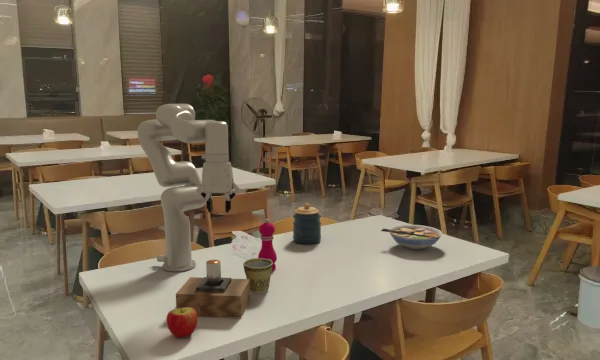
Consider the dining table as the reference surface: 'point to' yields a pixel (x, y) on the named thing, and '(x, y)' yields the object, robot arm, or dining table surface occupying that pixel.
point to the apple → (182, 321)
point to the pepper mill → (267, 242)
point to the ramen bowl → (414, 236)
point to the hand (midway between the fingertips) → (219, 211)
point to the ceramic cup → (258, 274)
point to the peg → (213, 272)
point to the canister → (306, 225)
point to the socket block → (215, 297)
